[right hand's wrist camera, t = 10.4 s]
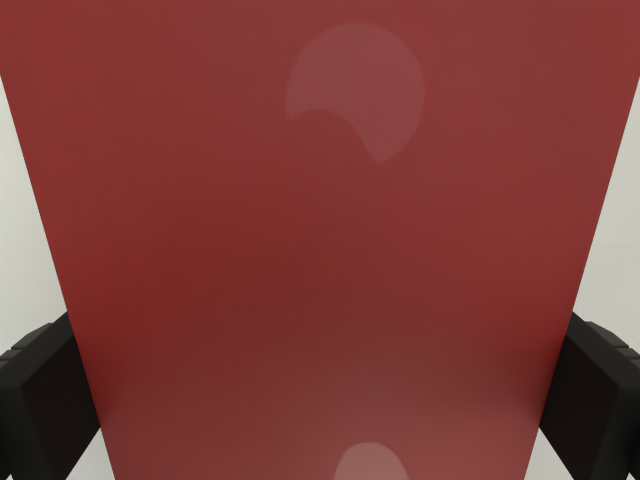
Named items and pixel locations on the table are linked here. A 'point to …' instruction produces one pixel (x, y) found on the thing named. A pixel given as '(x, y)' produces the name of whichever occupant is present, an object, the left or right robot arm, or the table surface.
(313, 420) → the cabinet
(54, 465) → the right robot arm
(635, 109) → the table surface
